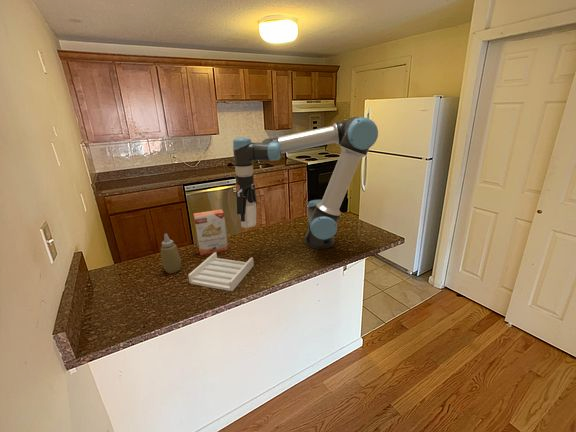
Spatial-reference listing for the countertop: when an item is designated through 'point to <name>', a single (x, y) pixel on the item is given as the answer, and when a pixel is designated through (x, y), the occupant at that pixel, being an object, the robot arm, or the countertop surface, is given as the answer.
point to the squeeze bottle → (170, 256)
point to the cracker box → (211, 231)
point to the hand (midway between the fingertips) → (248, 223)
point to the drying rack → (220, 273)
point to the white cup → (251, 214)
